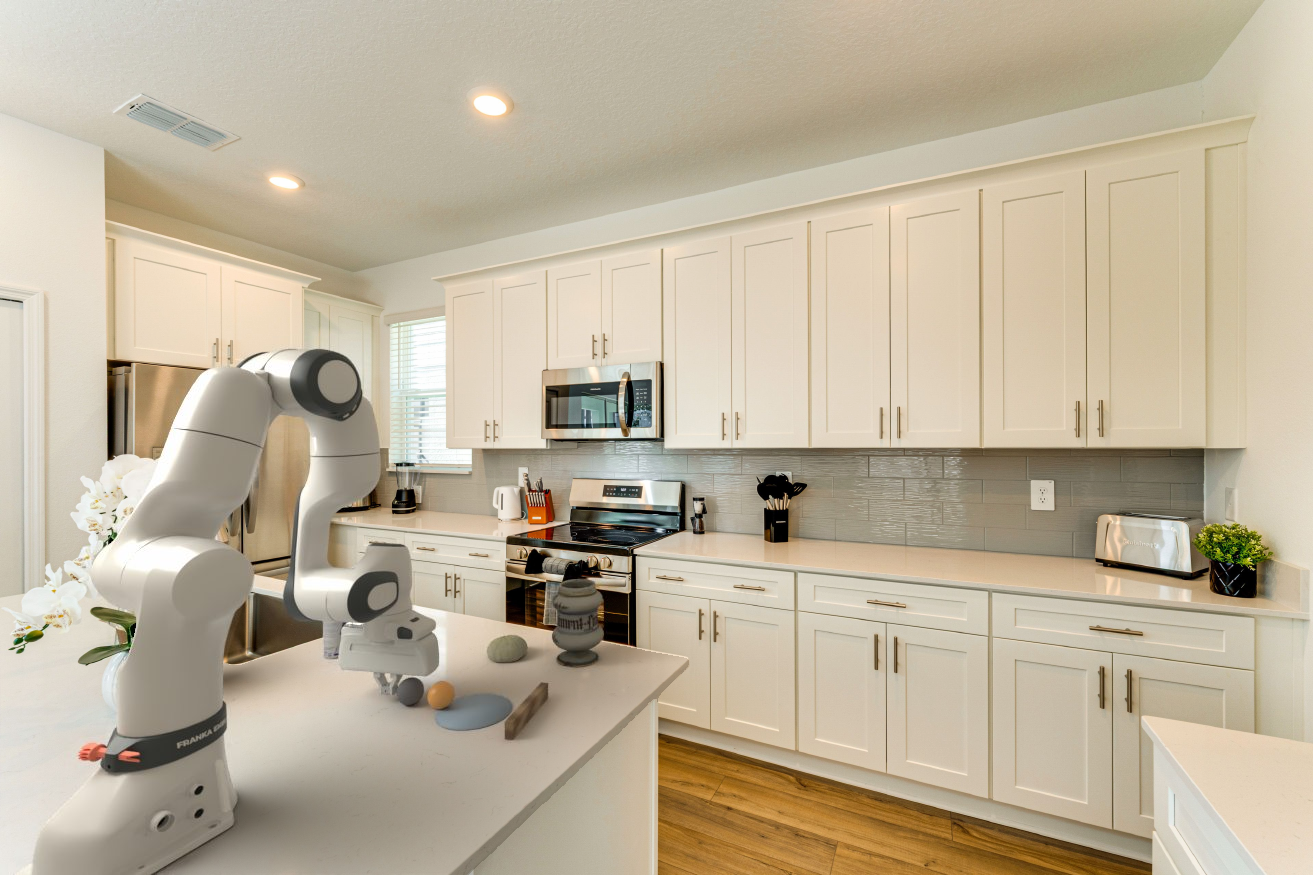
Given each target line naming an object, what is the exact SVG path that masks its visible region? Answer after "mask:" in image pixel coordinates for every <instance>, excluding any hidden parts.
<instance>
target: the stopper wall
mask: <svg viewBox="0 0 1313 875" xmlns="http://www.w3.org/2000/svg"><path fill="white" fill-rule="evenodd" d="M548 699H549V682H545V681H544V682H543V681H542V682H540V683H539V684H538V685H537V686H536V687H535V688H534V690H533V691H532V692H530V694H528V696H527V697H526V698H525V699H524V700H523V701H522V703H521V704H519V706H518V707H517V708H516V709H515V710H514V711H513V712H512V713H511V714H509V717H507V719H506V720H505V721H504V740H510V741H513V740H514V739H515V737H517V735H518V734H519V733H520V732H521V731H522V730H523V728H524V727H525V726H526V725H527V724H528V723H529V721H530V720H531V719H532V717H533V716H534V715H535V714H536V713H537V712H538V711H539V709H540V708H541V707H542V706H543V705H544V704H545V702H546V701H547V700H548Z"/></svg>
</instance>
